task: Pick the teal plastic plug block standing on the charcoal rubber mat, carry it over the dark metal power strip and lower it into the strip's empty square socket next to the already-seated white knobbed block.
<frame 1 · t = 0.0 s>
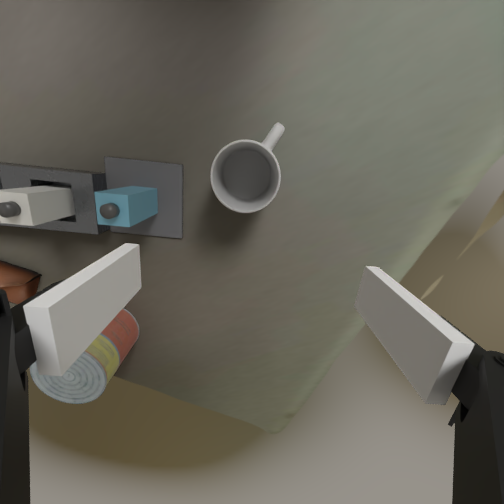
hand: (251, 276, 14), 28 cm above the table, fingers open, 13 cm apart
mug: (253, 165, 39), on the table
canned food: (111, 327, 49), on the table
plug: (145, 199, 40), resting on mat
mat: (146, 199, 40), on the table
white knobbed block: (69, 198, 40), resting on strip
strip: (41, 194, 40), on the table
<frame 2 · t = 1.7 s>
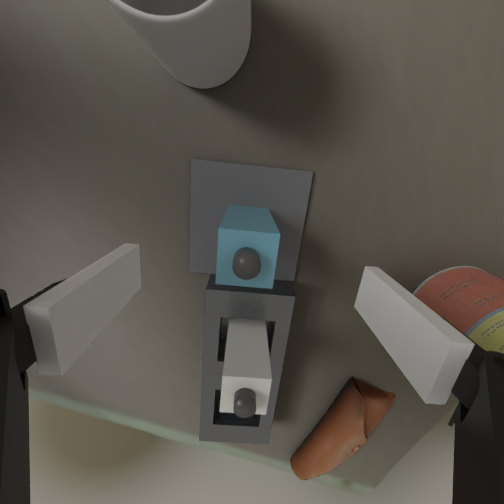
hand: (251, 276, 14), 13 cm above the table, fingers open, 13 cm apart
mug: (183, 17, 21), on the table
sunglasses case: (338, 421, 38), on the table
canned food: (449, 306, 31), on the table
plug: (247, 225, 26), resting on mat
mat: (247, 224, 26), on the table
white knobbed block: (245, 322, 30), resting on strip
strip: (242, 352, 32), on the table
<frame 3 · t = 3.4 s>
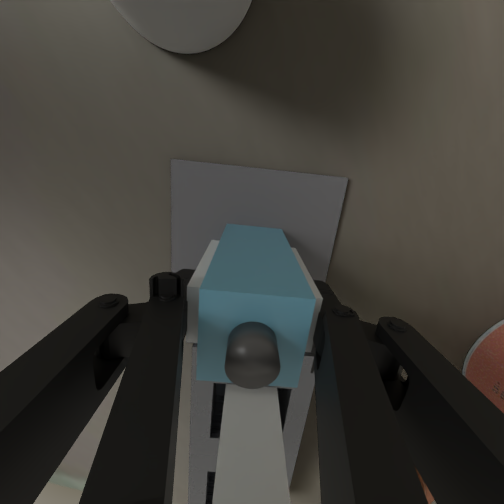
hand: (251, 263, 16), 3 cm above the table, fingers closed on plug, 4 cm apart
plug: (251, 252, 18), resting on mat, touching gripper
mat: (251, 250, 19), on the table
white knobbed block: (249, 378, 22), resting on strip
strip: (244, 412, 24), on the table
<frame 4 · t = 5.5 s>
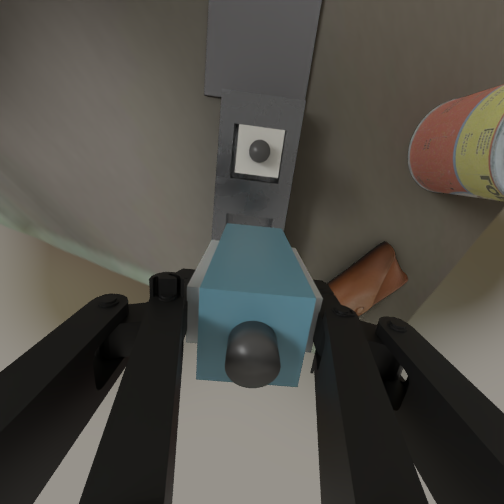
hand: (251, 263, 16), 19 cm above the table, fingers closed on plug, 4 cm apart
sunglasses case: (346, 291, 39), on the table
canned food: (450, 148, 32), on the table
plug: (251, 251, 18), point 17 cm above the table, touching gripper
mat: (260, 42, 28), on the table
white knobbed block: (256, 155, 31), resting on strip
strip: (251, 195, 34), on the table
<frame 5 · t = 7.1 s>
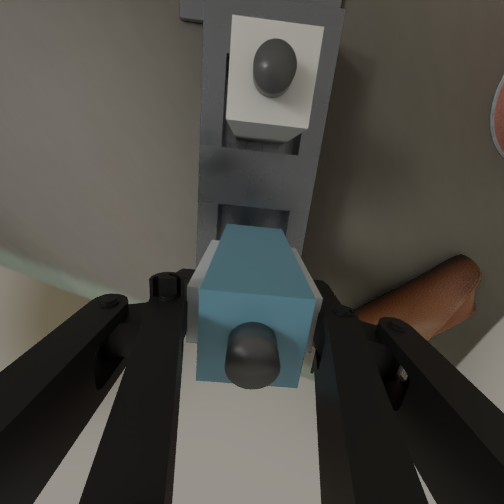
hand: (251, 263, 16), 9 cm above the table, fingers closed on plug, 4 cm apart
sunglasses case: (388, 315, 29), on the table
plug: (251, 252, 18), point 6 cm above the table, touching gripper
white knobbed block: (262, 116, 21), resting on strip
strip: (255, 177, 23), on the table
when the fingers open (5 cm above the table, at t = 8.1 s): plug drops 2 cm, resting on strip.
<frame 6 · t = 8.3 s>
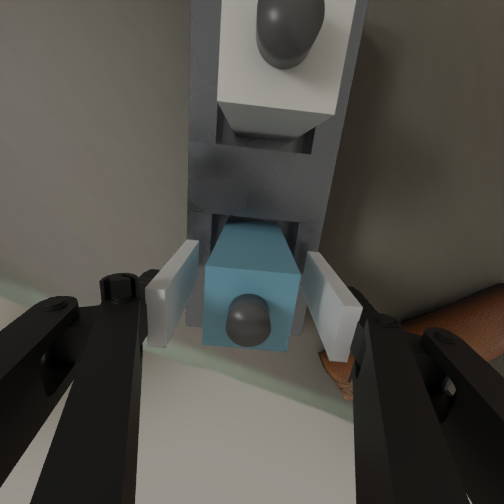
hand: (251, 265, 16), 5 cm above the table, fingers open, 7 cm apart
sunglasses case: (410, 342, 25), on the table
plug: (250, 244, 20), point 1 cm above the table, touching strip
white knobbed block: (266, 107, 17), resting on strip
strip: (258, 181, 19), on the table
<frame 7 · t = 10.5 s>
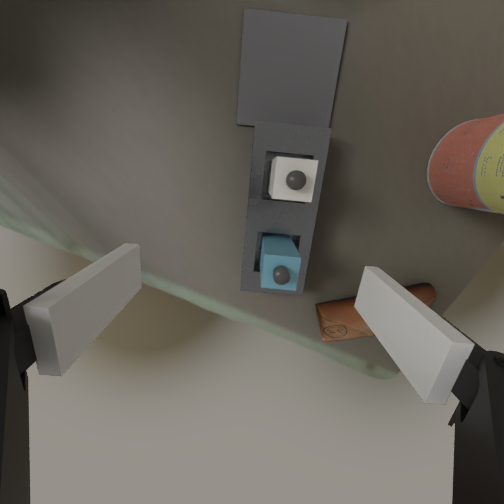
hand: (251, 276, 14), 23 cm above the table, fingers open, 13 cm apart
sunglasses case: (369, 310, 42), on the table
canned food: (468, 165, 34), on the table
plug: (274, 246, 37), point 1 cm above the table, touching strip
mat: (288, 75, 31), on the table
white knobbed block: (283, 177, 34), resting on strip
strip: (278, 212, 36), on the table
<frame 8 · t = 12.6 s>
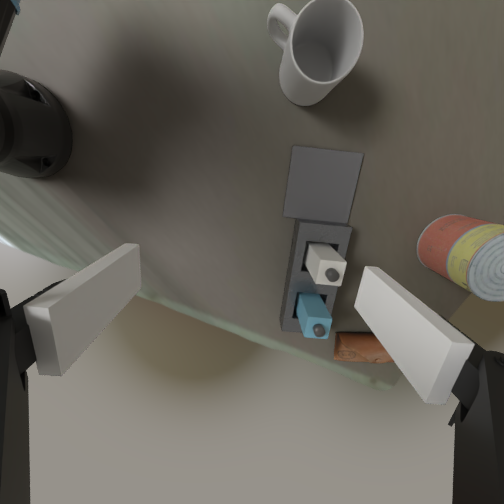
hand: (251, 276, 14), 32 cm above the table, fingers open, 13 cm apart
mug: (297, 67, 38), on the table
sunglasses case: (372, 343, 56), on the table
canned food: (445, 243, 47), on the table
plug: (305, 297, 50), point 1 cm above the table, touching strip
mat: (321, 186, 43), on the table
white knobbed block: (314, 251, 47), resting on strip
strip: (309, 274, 49), on the table
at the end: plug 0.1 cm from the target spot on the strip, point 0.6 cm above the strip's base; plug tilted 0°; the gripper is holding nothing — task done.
